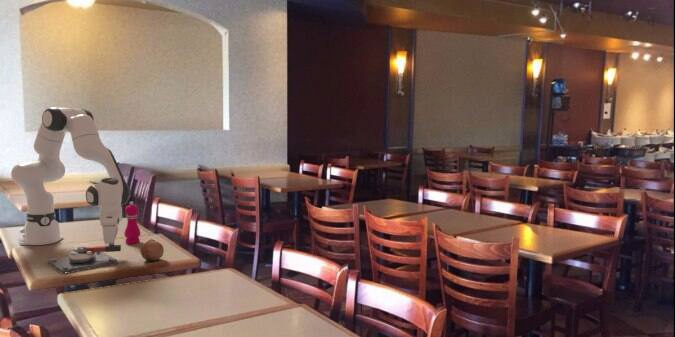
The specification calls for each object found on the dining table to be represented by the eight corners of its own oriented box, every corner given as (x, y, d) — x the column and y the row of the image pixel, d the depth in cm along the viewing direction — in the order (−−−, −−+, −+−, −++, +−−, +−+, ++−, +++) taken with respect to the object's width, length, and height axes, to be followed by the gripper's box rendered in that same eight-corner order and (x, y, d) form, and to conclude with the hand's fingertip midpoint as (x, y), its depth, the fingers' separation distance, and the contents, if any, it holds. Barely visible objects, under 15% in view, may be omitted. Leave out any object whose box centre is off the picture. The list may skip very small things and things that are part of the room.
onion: (149, 265, 244) (148, 242, 247) (168, 261, 241) (167, 238, 245) (136, 263, 235) (135, 239, 238) (155, 258, 233) (154, 235, 236)
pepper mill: (135, 245, 265) (134, 203, 262) (121, 243, 266) (120, 202, 263) (143, 241, 272) (142, 200, 269) (130, 240, 273) (128, 199, 271)
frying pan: (67, 263, 227) (66, 251, 227) (71, 256, 237) (70, 245, 236) (120, 260, 233) (119, 248, 233) (121, 253, 243) (121, 242, 242)
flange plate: (47, 263, 233) (47, 258, 233) (101, 254, 248) (101, 249, 248) (61, 274, 220) (61, 268, 220) (117, 263, 235) (117, 258, 235)
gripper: (105, 211, 246) (106, 242, 248) (100, 222, 226) (101, 255, 228) (121, 211, 248) (121, 241, 250) (116, 222, 228) (117, 254, 230)
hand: (111, 248), depth 239 cm, fingers closed
